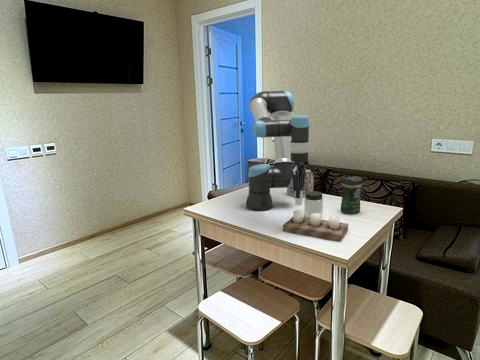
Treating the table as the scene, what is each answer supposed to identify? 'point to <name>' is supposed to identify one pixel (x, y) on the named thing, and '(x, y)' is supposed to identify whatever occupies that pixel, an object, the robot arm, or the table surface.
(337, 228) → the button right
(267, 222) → the table surface
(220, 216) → the table surface
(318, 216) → the button middle
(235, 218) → the table surface
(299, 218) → the button left
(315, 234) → the button board
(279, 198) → the table surface
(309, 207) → the jar
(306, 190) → the decorative jar
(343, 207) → the coffee jar
